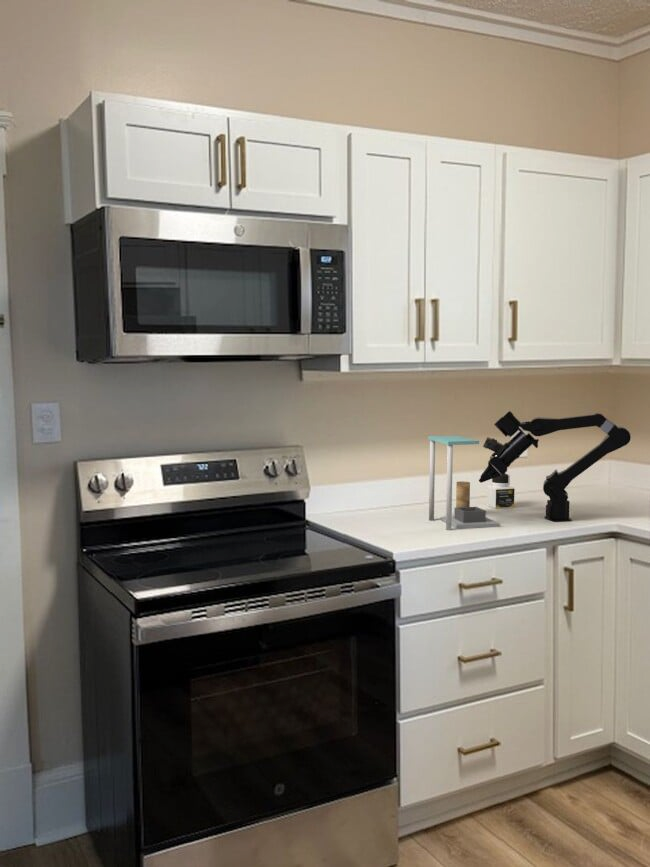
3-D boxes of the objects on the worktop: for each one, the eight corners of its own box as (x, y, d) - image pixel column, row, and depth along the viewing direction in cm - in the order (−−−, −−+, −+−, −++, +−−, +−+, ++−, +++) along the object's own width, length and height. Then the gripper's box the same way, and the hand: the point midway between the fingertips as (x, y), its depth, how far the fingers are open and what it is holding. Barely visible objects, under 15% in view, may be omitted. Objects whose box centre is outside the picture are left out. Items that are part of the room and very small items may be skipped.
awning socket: (479, 517, 284) (480, 435, 281) (501, 527, 267) (503, 440, 265) (427, 519, 280) (428, 436, 277) (446, 530, 263) (448, 441, 261)
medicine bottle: (495, 509, 299) (496, 474, 298) (486, 505, 306) (487, 471, 305) (514, 508, 301) (515, 473, 300) (504, 504, 308) (505, 471, 307)
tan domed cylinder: (466, 513, 290) (466, 481, 289) (471, 516, 286) (472, 483, 285) (453, 514, 289) (454, 481, 288) (459, 516, 285) (459, 483, 284)
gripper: (499, 426, 291) (465, 458, 295) (497, 431, 273) (461, 465, 277) (522, 450, 290) (488, 482, 294) (522, 457, 272) (485, 490, 276)
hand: (480, 479), depth 285 cm, fingers open, 9 cm apart
